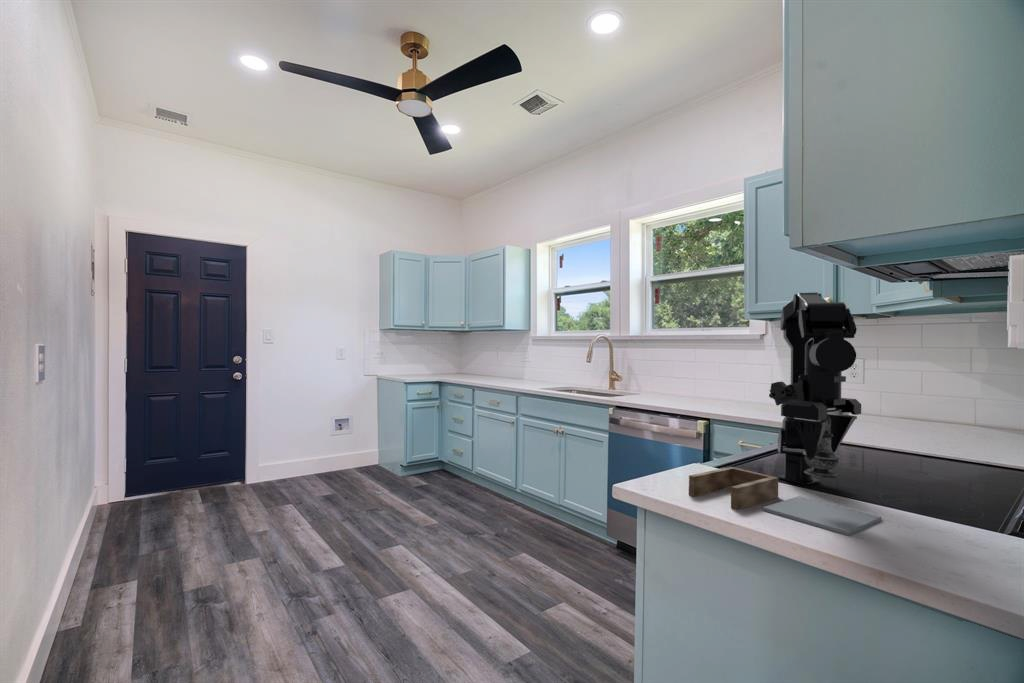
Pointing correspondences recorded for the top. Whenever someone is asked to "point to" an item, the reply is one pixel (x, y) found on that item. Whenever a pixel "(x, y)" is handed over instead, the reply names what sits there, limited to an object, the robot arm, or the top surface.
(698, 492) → the brown wooden u-shaped frame
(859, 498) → the top surface
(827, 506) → the slate mat
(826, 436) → the grey tall turned piece
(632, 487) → the top surface
